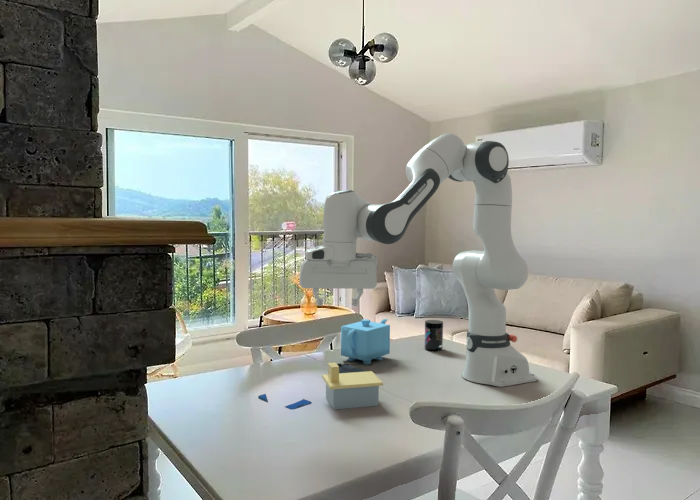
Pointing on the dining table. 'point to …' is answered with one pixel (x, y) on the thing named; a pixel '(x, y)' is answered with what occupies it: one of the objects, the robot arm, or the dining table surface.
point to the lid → (349, 378)
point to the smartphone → (291, 406)
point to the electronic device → (348, 368)
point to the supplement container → (433, 335)
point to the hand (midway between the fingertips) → (337, 305)
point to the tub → (352, 397)
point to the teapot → (365, 340)
